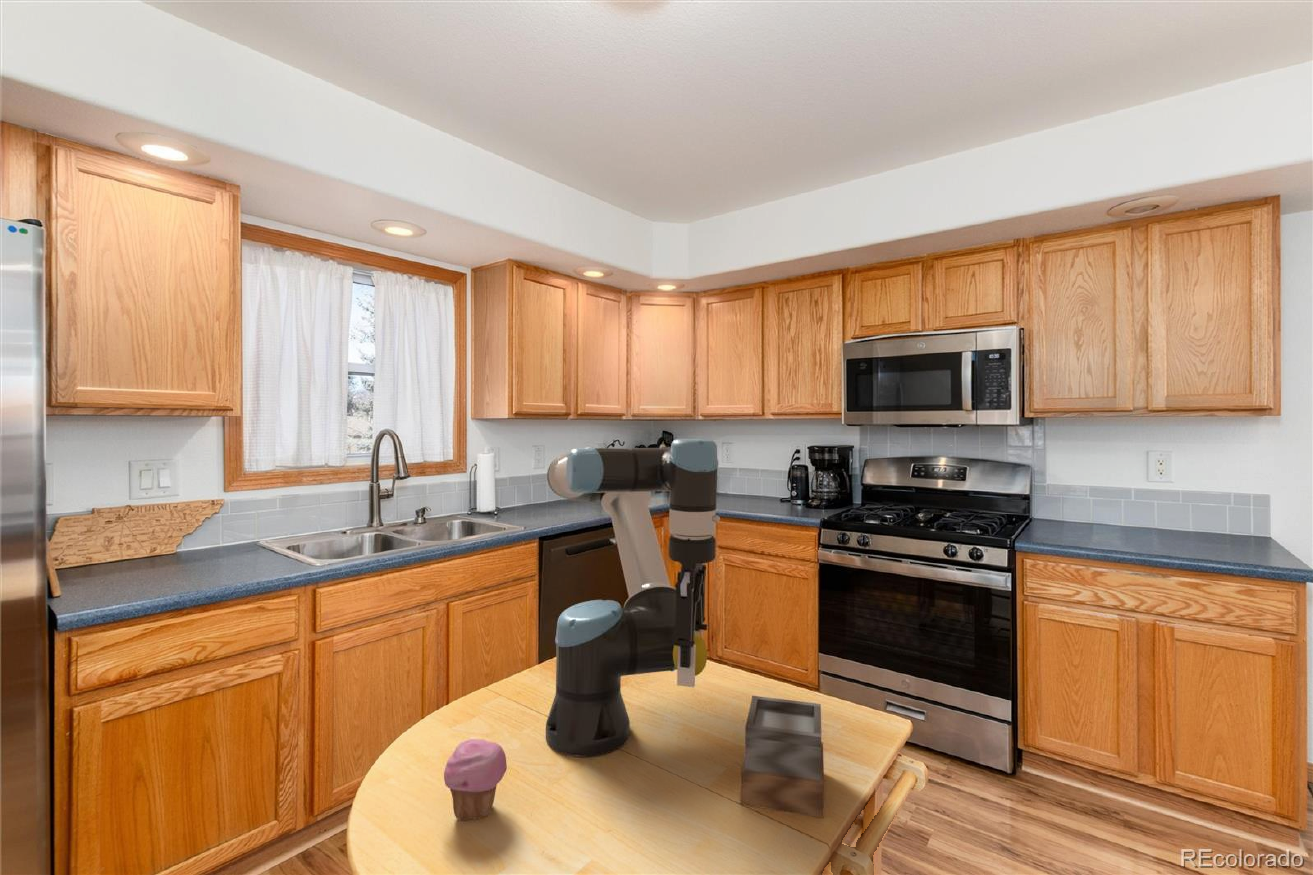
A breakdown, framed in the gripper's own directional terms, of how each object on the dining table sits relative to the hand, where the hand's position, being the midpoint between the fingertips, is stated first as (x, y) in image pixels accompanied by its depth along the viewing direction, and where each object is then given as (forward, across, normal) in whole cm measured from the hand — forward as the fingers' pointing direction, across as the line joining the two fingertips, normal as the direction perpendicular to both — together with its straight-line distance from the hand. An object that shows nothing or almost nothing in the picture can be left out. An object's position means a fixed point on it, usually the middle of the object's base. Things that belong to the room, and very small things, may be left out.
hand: (689, 677), depth 101 cm
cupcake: (+16, -18, +28) cm, 37 cm away
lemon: (+1, 0, 0) cm, 1 cm away
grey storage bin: (+16, 0, -15) cm, 22 cm away
